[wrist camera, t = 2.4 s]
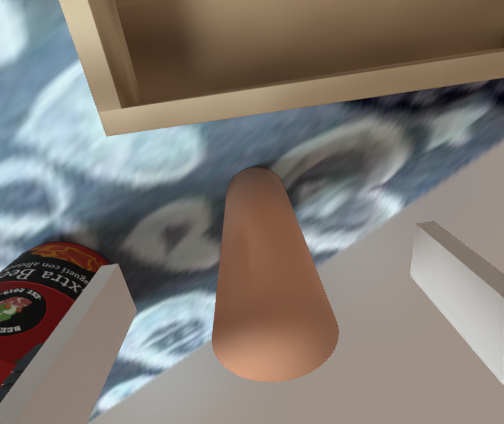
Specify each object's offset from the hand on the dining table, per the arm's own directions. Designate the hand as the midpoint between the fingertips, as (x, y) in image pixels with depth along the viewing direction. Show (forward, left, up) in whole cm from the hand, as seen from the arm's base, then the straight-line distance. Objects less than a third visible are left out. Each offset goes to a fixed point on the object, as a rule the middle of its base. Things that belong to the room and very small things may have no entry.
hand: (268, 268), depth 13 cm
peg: (0, 0, -8) cm, 8 cm away
